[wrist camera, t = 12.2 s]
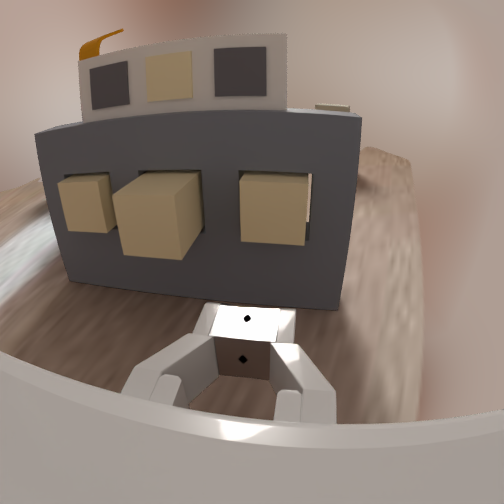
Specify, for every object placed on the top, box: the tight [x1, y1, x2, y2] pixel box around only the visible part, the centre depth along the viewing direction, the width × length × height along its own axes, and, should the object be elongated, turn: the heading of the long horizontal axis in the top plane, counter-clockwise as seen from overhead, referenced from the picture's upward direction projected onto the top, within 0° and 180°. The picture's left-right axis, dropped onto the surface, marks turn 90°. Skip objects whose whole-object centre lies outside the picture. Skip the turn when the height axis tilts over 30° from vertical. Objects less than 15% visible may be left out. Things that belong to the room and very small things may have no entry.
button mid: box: [112, 170, 205, 260], centre depth 21 cm, size 4×7×4 cm, turn 171°
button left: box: [57, 172, 117, 233], centre depth 24 cm, size 4×7×4 cm, turn 171°
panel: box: [35, 34, 362, 310], centre depth 22 cm, size 24×3×19 cm, turn 81°
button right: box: [239, 170, 308, 246], centre depth 22 cm, size 4×7×4 cm, turn 171°
